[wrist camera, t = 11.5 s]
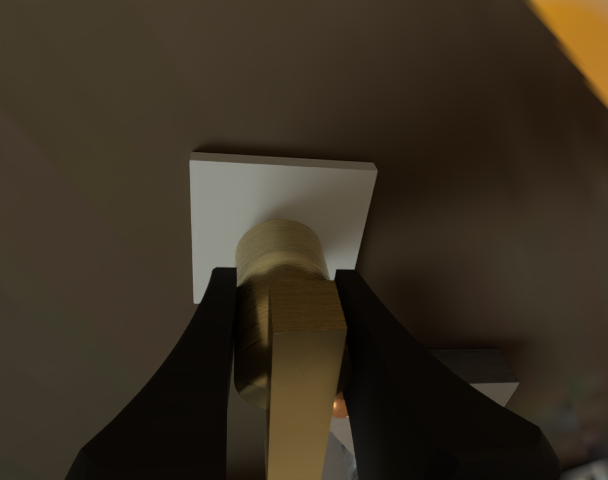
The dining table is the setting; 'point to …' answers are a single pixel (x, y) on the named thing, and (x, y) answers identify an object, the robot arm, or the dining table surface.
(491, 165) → the dining table surface
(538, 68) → the dining table surface
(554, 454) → the robot arm
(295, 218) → the mat
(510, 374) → the chuck base
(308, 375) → the gold cylinder with bar
